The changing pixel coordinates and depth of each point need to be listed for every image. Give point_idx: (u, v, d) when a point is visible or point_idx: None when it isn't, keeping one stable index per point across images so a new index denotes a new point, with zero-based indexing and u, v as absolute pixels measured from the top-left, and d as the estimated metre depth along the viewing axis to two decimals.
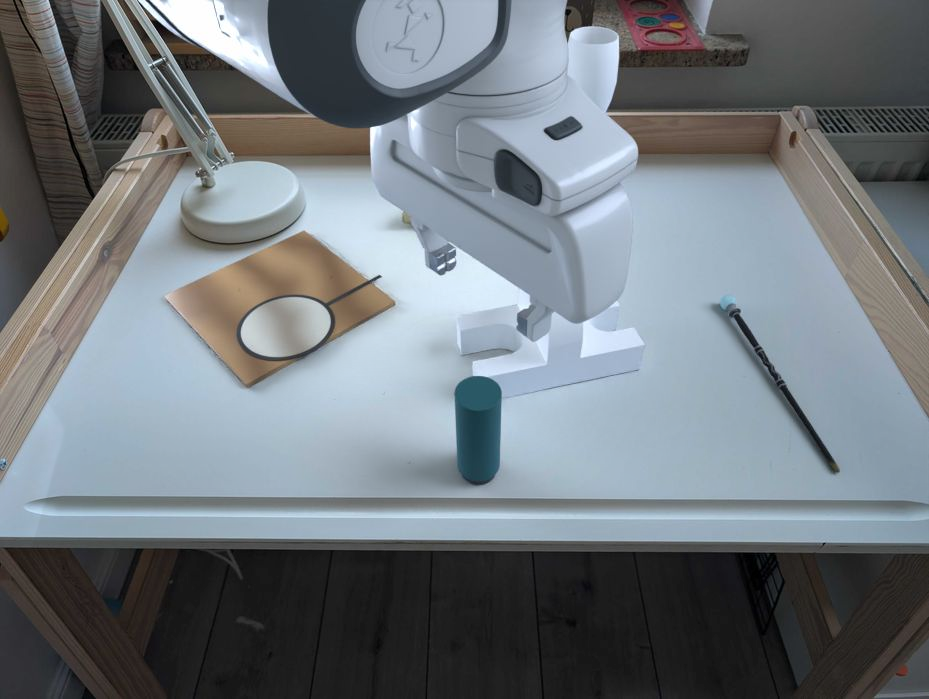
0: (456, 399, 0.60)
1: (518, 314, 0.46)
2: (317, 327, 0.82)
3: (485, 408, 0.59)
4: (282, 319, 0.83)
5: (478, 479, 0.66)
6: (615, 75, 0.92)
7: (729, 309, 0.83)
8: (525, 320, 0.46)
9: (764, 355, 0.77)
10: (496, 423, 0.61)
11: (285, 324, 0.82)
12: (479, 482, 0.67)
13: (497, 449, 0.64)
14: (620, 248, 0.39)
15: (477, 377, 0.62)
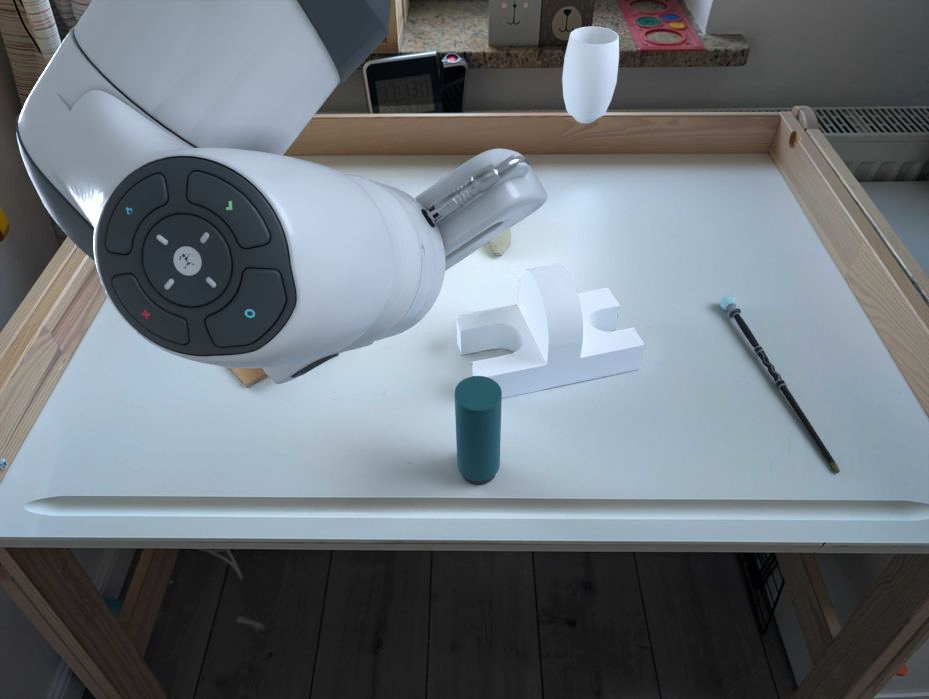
0: (456, 399, 0.60)
1: None
2: None
3: (485, 408, 0.59)
4: None
5: (478, 479, 0.66)
6: (615, 75, 0.92)
7: (729, 309, 0.83)
8: None
9: (764, 355, 0.77)
10: (496, 423, 0.61)
11: None
12: (479, 482, 0.67)
13: (497, 449, 0.64)
14: None
15: (477, 377, 0.62)
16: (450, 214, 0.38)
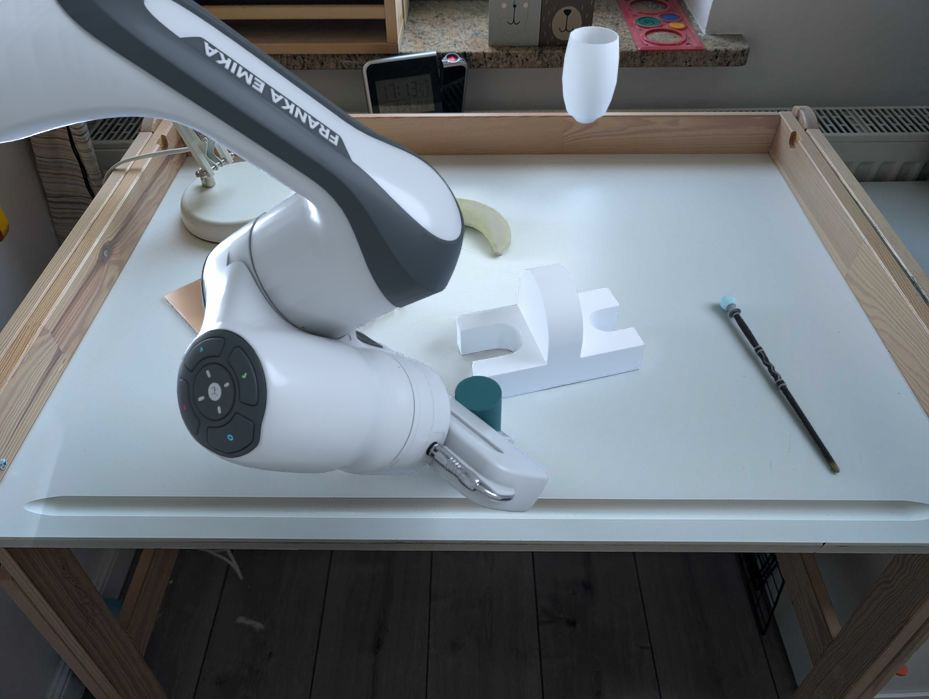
0: (456, 399, 0.60)
1: None
2: None
3: (485, 408, 0.59)
4: None
5: None
6: (615, 75, 0.92)
7: (729, 309, 0.83)
8: None
9: (764, 355, 0.77)
10: (496, 423, 0.61)
11: None
12: None
13: None
14: None
15: (477, 377, 0.62)
16: (439, 464, 0.50)
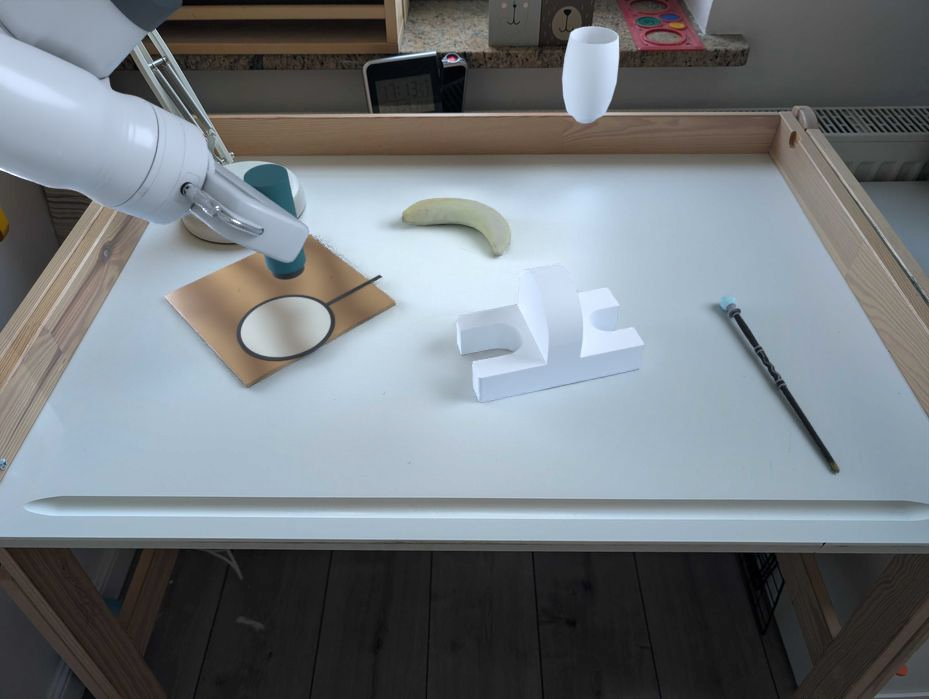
0: (244, 179, 0.65)
1: None
2: (317, 327, 0.82)
3: (267, 185, 0.64)
4: (282, 319, 0.83)
5: (281, 271, 0.71)
6: (615, 75, 0.92)
7: (729, 309, 0.83)
8: None
9: (764, 355, 0.77)
10: (285, 206, 0.67)
11: (285, 324, 0.82)
12: (285, 276, 0.72)
13: None
14: None
15: (268, 164, 0.67)
16: (190, 200, 0.56)
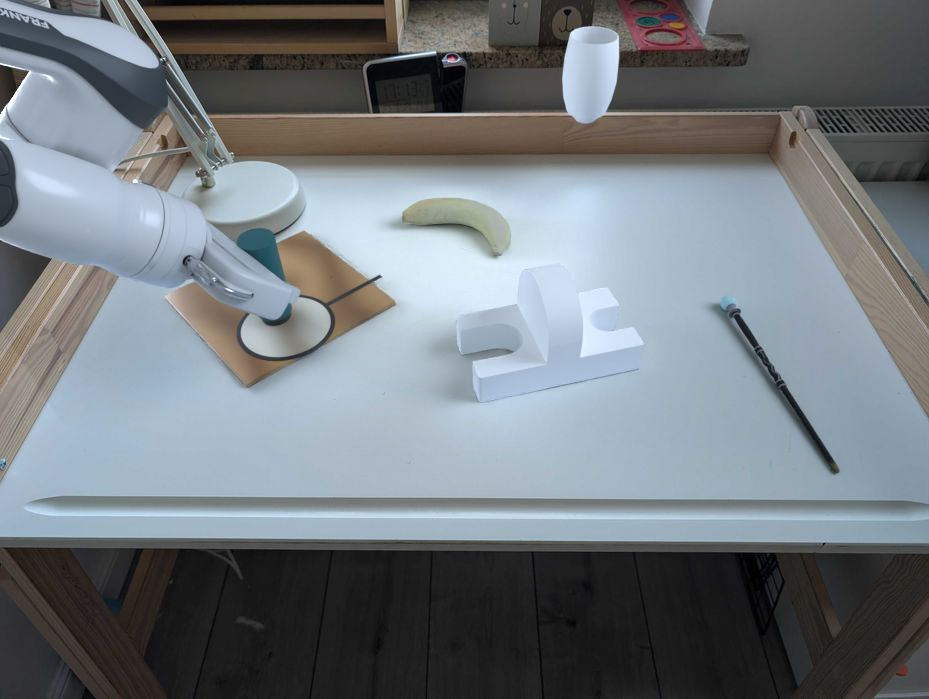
0: (237, 243, 0.75)
1: None
2: (317, 327, 0.82)
3: (257, 249, 0.75)
4: None
5: None
6: (615, 75, 0.92)
7: (729, 309, 0.83)
8: None
9: (764, 355, 0.77)
10: (272, 265, 0.77)
11: (285, 324, 0.82)
12: (273, 323, 0.82)
13: None
14: None
15: (258, 229, 0.77)
16: (191, 271, 0.66)
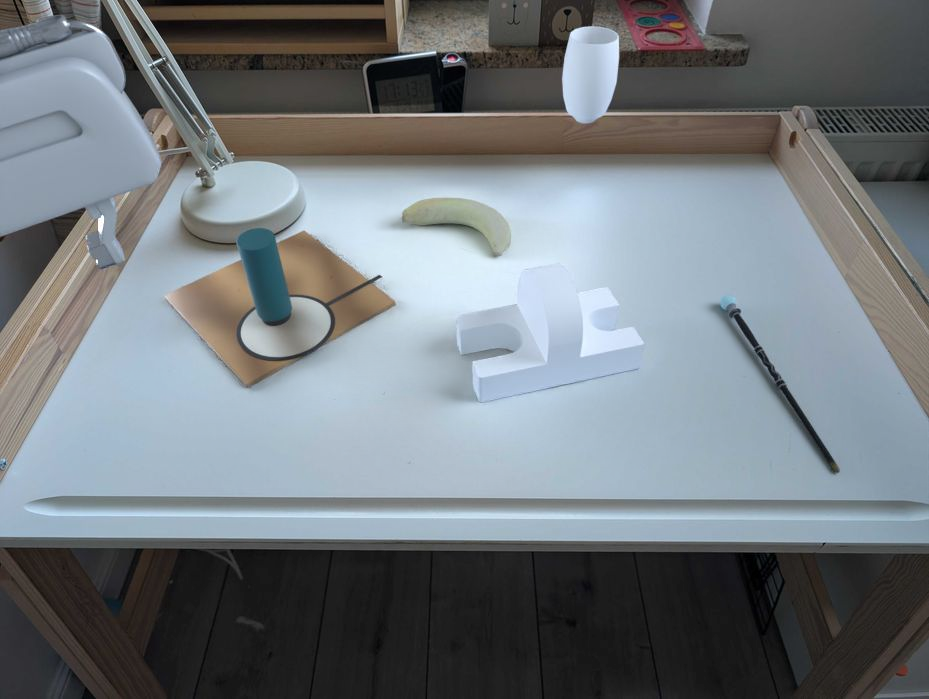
0: (237, 243, 0.75)
1: None
2: (317, 327, 0.82)
3: (257, 249, 0.75)
4: None
5: (270, 319, 0.81)
6: (615, 75, 0.92)
7: (729, 309, 0.83)
8: None
9: (764, 355, 0.77)
10: (272, 265, 0.77)
11: (285, 324, 0.82)
12: (273, 323, 0.82)
13: (281, 291, 0.80)
14: None
15: (258, 229, 0.77)
16: None
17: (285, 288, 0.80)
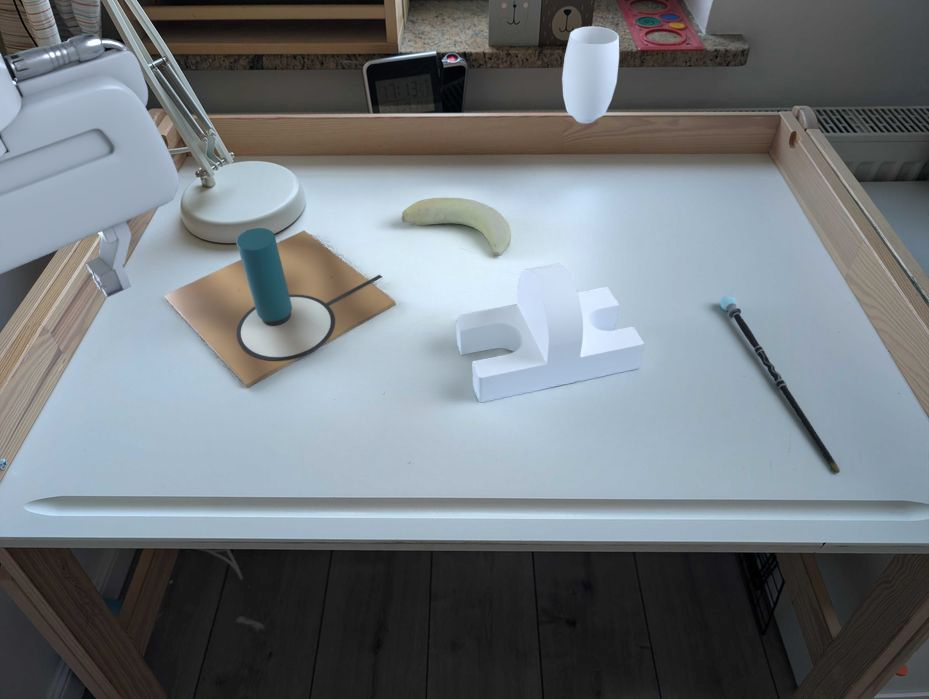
0: (237, 243, 0.75)
1: None
2: (317, 327, 0.82)
3: (257, 249, 0.75)
4: None
5: (270, 319, 0.81)
6: (615, 75, 0.92)
7: (729, 309, 0.83)
8: None
9: (764, 355, 0.77)
10: (272, 265, 0.77)
11: (285, 324, 0.82)
12: (273, 323, 0.82)
13: (281, 291, 0.80)
14: None
15: (258, 229, 0.77)
16: (34, 62, 0.33)
17: (285, 288, 0.80)
